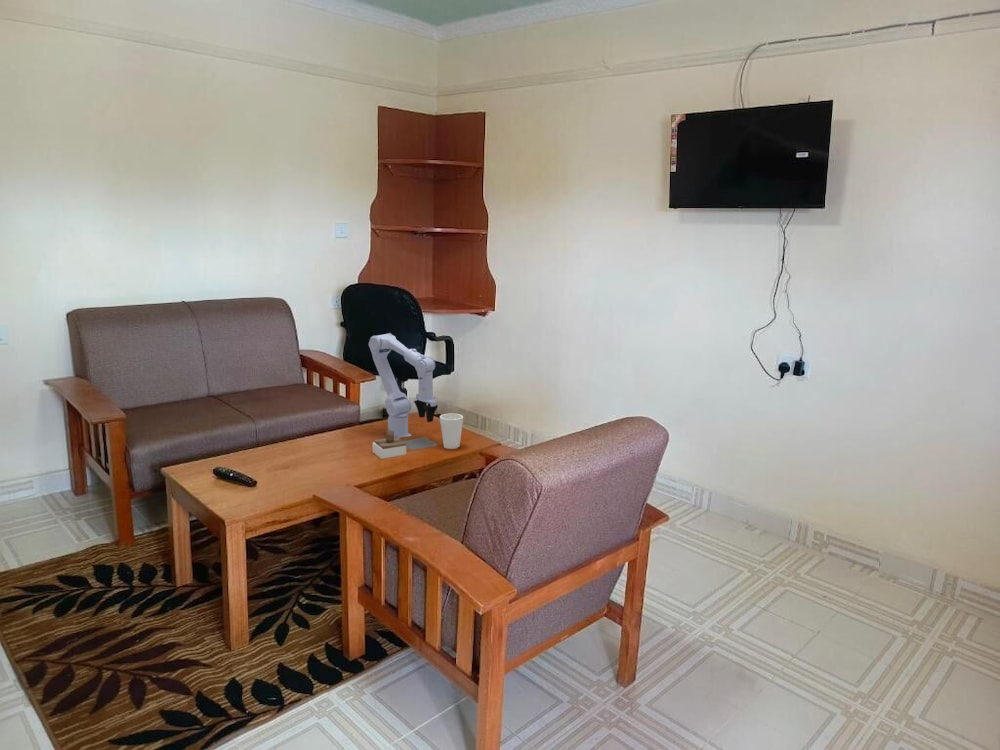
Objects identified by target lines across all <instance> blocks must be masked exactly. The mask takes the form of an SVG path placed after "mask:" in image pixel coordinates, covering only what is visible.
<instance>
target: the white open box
mask: <svg viewBox="0 0 1000 750" xmlns="http://www.w3.org/2000/svg"><path fill="white" fill-rule="evenodd" d="M372 453H373V454H374V453H375V456H377V457H378V456H379V457H378V458H379V459H381V460H384V459H389V458H393V457H394V458H395V457H399V456H406V455H407V447H406V446H400V447H394V448H388V449H382V448H381V447H380V446H378V445H377V444H376V443H375V441H373V442H372Z"/></svg>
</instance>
